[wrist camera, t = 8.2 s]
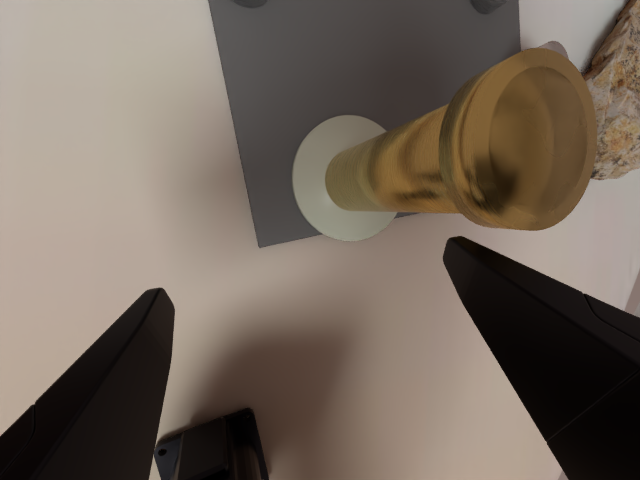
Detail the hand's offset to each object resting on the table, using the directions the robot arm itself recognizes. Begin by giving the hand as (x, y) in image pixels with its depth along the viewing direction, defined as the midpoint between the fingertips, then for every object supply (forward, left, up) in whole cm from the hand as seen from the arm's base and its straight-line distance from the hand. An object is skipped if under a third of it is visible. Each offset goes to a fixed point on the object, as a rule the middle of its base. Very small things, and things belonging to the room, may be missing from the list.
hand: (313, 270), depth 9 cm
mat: (+11, -13, -12) cm, 21 cm away
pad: (+3, -7, -11) cm, 14 cm away
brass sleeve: (+3, -7, -11) cm, 13 cm away
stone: (+8, -39, -12) cm, 41 cm away
